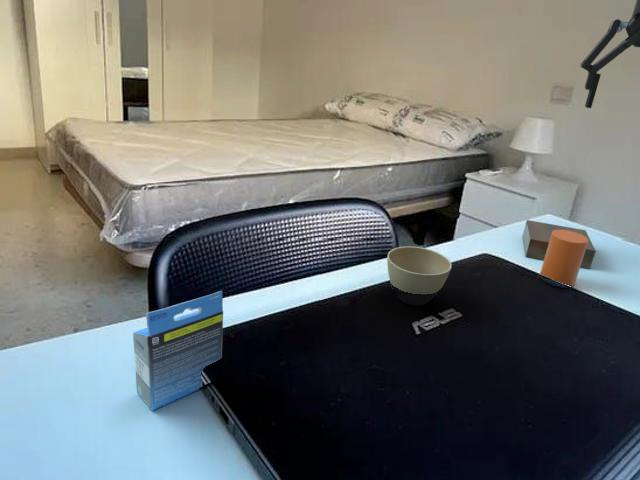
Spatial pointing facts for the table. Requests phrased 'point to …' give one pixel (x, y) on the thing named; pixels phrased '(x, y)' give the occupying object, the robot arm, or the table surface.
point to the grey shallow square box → (539, 237)
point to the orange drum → (564, 256)
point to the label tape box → (177, 349)
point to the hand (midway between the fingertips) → (624, 111)
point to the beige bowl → (417, 269)
